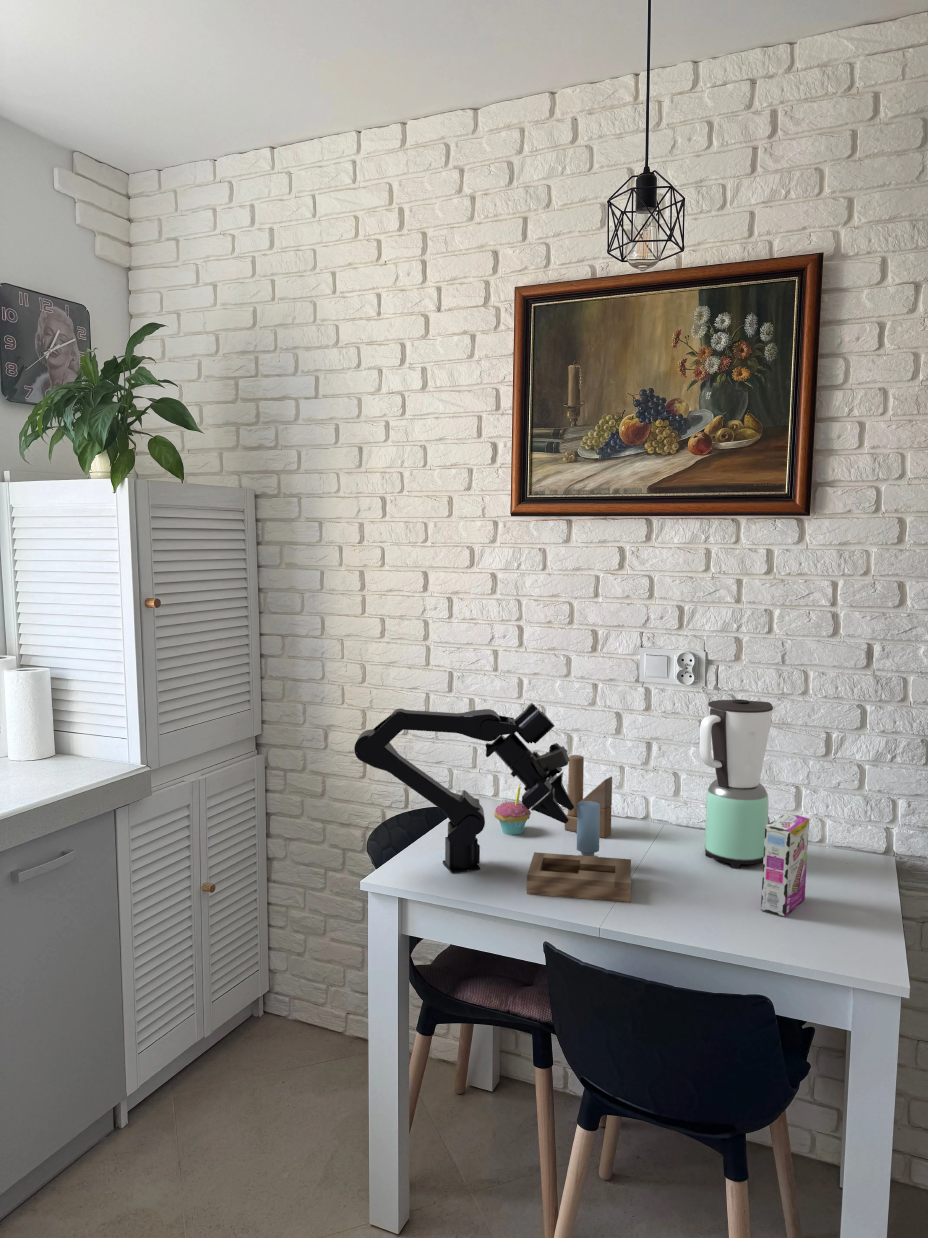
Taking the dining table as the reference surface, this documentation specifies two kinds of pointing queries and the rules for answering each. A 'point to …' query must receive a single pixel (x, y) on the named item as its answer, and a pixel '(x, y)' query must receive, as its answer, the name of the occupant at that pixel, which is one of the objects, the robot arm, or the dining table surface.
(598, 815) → the keyhole stud
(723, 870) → the dining table surface
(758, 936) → the dining table surface
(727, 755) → the mint green blender
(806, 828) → the candy bar box
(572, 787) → the wooden block
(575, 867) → the keyhole board
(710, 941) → the dining table surface
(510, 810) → the cupcake
